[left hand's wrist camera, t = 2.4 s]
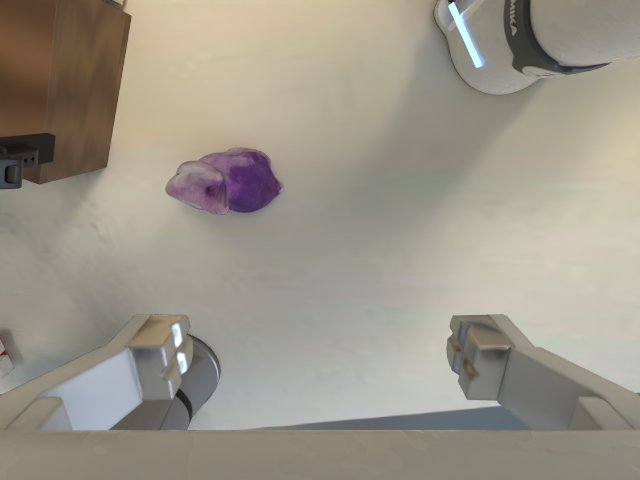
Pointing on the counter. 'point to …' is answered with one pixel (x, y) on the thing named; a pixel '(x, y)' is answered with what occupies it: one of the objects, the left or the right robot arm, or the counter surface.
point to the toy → (4, 363)
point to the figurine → (226, 182)
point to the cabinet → (62, 79)
